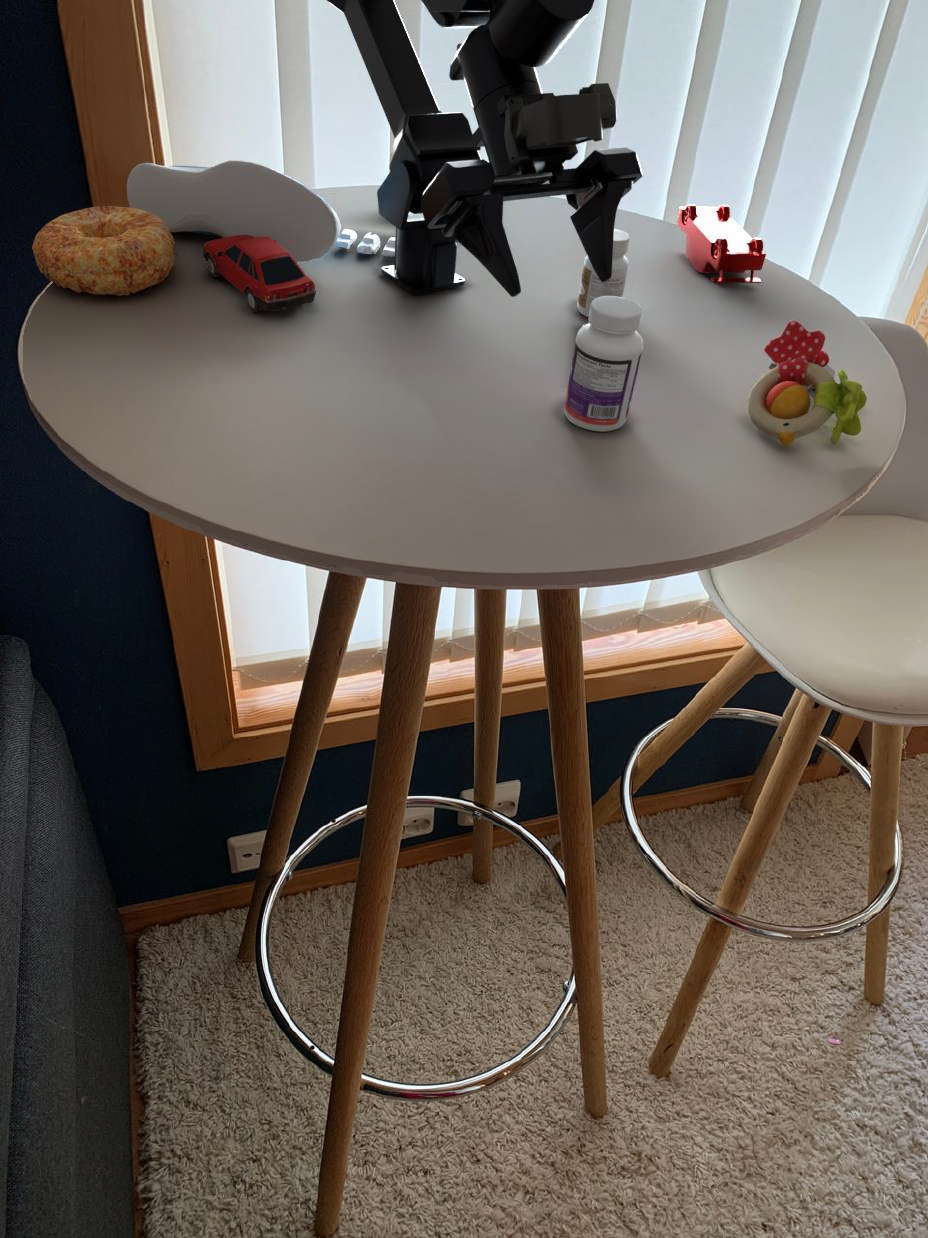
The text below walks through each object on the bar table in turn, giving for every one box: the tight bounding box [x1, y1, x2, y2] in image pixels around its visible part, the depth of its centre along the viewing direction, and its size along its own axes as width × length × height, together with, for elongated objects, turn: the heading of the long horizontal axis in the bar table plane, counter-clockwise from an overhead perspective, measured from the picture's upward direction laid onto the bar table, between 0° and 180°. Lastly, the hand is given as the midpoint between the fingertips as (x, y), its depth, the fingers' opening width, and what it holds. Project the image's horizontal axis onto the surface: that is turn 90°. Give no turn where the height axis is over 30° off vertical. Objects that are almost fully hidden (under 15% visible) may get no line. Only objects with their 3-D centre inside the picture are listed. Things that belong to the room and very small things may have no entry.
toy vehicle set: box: [334, 228, 395, 258], centre depth 101 cm, size 12×4×2 cm, turn 79°
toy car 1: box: [202, 235, 317, 313], centre depth 90 cm, size 6×14×5 cm, turn 37°
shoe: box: [126, 159, 342, 263], centre depth 100 cm, size 9×23×12 cm
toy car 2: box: [676, 203, 767, 284], centre depth 106 cm, size 14×6×5 cm, turn 10°
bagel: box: [31, 205, 177, 297], centre depth 90 cm, size 13×14×5 cm
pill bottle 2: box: [563, 296, 644, 433], centre depth 76 cm, size 5×5×10 cm
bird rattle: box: [747, 319, 868, 447], centre depth 79 cm, size 6×11×9 cm
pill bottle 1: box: [576, 228, 631, 318], centre depth 93 cm, size 4×4×8 cm
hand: (562, 287), depth 77 cm, fingers open, 9 cm apart
